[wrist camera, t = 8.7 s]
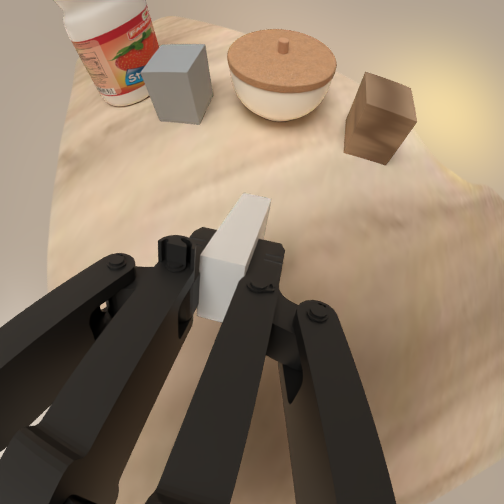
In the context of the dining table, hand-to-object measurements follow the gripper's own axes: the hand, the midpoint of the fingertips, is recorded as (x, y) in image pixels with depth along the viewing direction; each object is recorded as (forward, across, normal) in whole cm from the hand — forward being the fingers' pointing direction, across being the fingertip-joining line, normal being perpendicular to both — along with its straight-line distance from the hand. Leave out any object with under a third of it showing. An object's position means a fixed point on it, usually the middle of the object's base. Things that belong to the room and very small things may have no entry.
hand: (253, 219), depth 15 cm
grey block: (+19, -12, +4) cm, 23 cm away
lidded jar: (+21, -2, +6) cm, 22 cm away
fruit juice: (+21, -22, +7) cm, 31 cm away
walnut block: (+19, +9, +4) cm, 21 cm away
